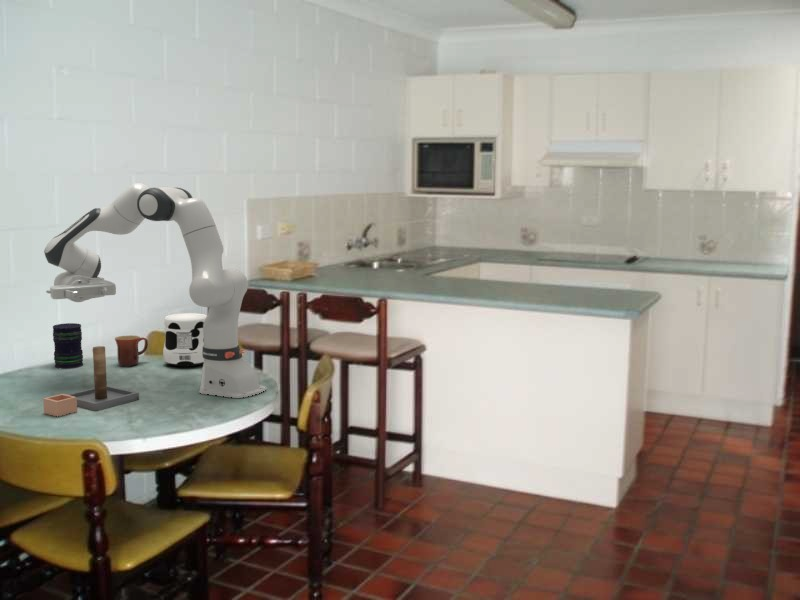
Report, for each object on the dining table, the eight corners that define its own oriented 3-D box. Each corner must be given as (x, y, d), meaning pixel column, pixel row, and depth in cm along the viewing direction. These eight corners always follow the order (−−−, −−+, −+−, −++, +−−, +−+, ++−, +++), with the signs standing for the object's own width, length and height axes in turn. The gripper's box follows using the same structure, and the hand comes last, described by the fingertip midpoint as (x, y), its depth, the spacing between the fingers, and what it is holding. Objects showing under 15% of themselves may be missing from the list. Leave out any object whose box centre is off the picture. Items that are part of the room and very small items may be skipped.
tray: (139, 399, 268) (138, 392, 268) (95, 410, 255) (95, 403, 255) (106, 391, 277) (105, 385, 277) (62, 402, 264) (62, 395, 264)
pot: (77, 411, 254) (76, 397, 254) (57, 416, 249) (56, 401, 248) (63, 408, 258) (62, 393, 257) (43, 413, 252) (43, 398, 252)
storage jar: (60, 370, 307) (58, 329, 304) (50, 365, 314) (48, 325, 311) (87, 366, 313) (85, 325, 311) (77, 361, 320) (75, 322, 318)
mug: (121, 368, 309) (120, 340, 308) (112, 364, 316) (111, 337, 314) (153, 364, 317) (152, 337, 315) (143, 360, 324) (142, 333, 322)
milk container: (194, 357, 330) (193, 310, 327) (220, 364, 318) (219, 316, 315) (154, 364, 317) (152, 316, 315) (179, 371, 305) (178, 322, 303)
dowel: (109, 397, 267) (107, 347, 264) (99, 400, 264) (97, 349, 261) (102, 395, 269) (100, 345, 266) (92, 398, 266) (90, 347, 263)
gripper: (44, 281, 278) (55, 286, 267) (107, 277, 290) (121, 281, 279) (45, 300, 279) (56, 306, 268) (108, 295, 291) (121, 300, 280)
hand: (90, 293), depth 274 cm, fingers open, 8 cm apart
